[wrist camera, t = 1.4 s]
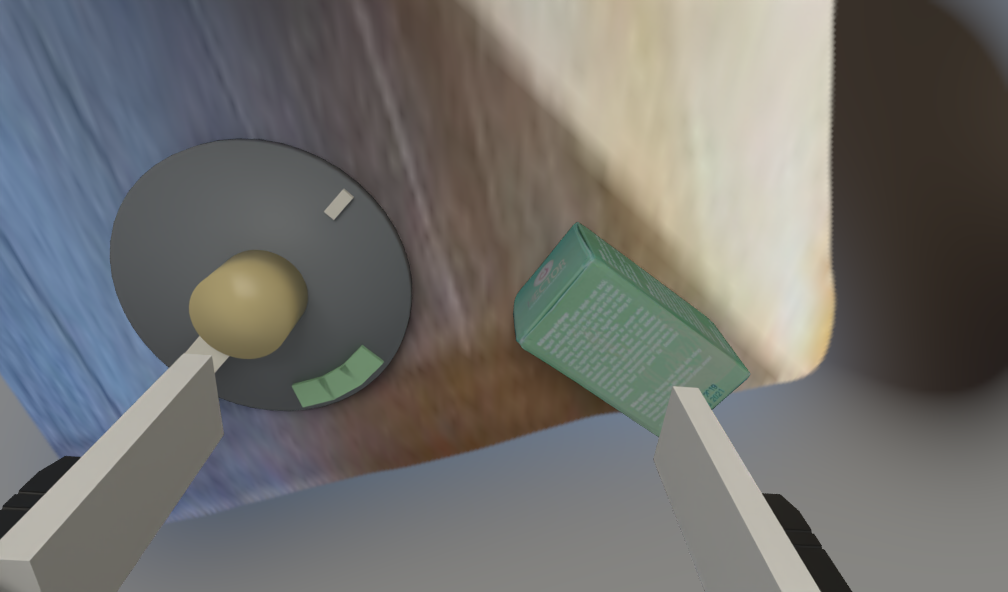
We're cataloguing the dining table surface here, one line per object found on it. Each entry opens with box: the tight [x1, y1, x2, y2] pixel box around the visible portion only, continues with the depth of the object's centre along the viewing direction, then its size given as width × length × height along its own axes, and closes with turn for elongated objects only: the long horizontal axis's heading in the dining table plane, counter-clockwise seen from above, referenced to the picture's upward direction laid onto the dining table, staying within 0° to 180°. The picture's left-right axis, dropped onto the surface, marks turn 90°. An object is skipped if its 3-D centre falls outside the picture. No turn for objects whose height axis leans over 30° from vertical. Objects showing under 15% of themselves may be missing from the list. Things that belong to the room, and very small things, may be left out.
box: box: [513, 222, 751, 437], centre depth 37 cm, size 7×14×8 cm, turn 54°
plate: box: [110, 139, 412, 411], centre depth 38 cm, size 20×20×2 cm
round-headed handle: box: [185, 250, 308, 373], centre depth 37 cm, size 13×6×4 cm, turn 136°
